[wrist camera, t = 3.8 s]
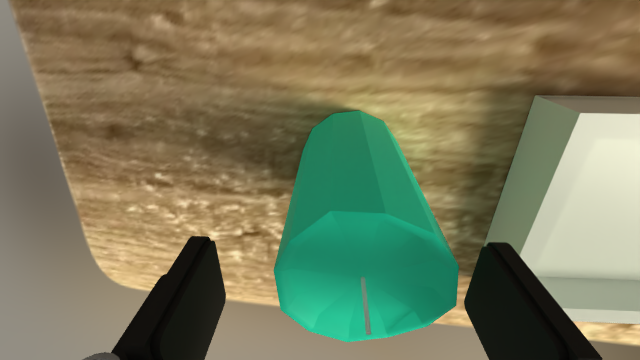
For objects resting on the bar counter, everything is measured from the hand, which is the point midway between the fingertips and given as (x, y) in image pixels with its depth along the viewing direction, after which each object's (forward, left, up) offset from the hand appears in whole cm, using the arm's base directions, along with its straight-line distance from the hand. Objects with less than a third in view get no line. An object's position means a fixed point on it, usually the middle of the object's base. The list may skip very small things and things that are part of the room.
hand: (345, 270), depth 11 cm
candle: (0, +1, -10) cm, 10 cm away
